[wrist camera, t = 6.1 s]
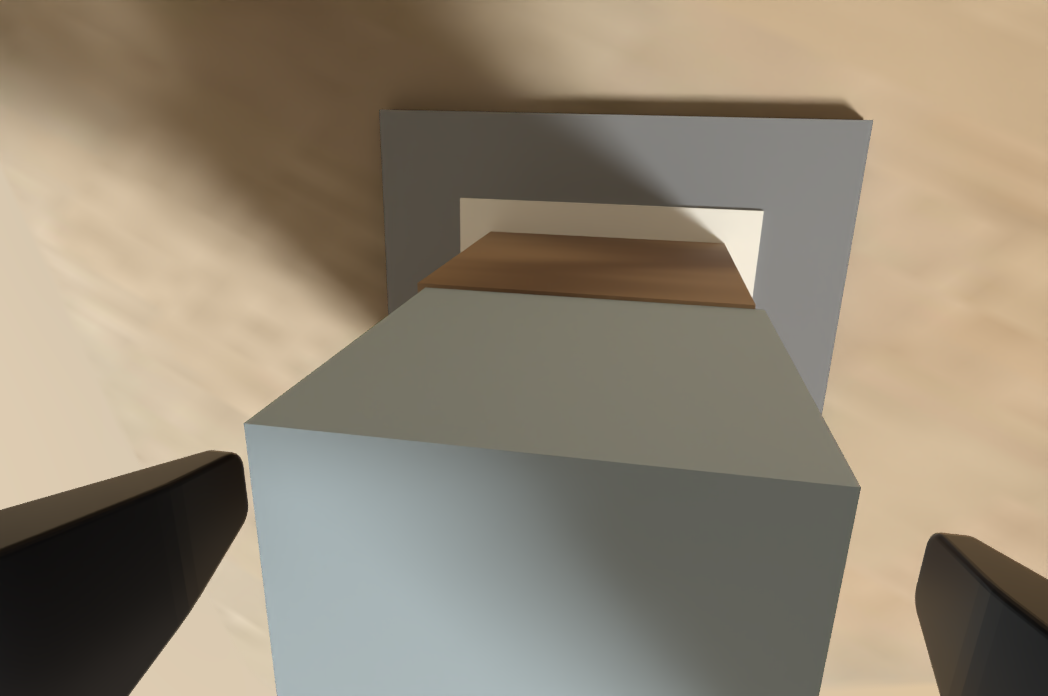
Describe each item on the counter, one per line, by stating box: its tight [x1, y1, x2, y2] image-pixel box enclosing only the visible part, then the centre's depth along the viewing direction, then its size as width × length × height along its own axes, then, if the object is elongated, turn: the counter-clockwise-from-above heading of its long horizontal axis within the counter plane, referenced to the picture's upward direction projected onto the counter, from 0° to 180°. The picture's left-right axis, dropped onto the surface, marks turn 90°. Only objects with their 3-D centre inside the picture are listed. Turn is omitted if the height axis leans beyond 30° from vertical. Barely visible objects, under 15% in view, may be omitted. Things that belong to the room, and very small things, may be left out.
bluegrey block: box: [244, 287, 861, 696], centre depth 9 cm, size 5×5×5 cm
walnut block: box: [417, 231, 756, 309], centre depth 13 cm, size 5×5×5 cm
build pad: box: [379, 110, 873, 415], centre depth 16 cm, size 10×10×1 cm
